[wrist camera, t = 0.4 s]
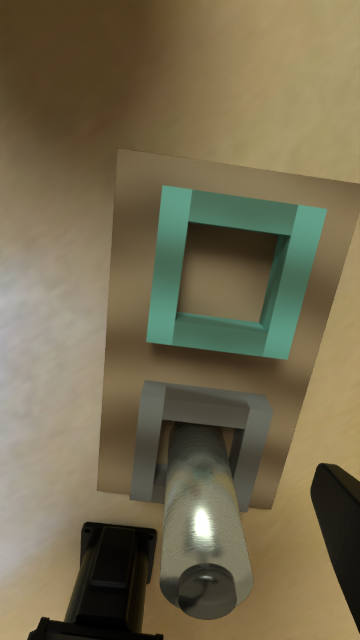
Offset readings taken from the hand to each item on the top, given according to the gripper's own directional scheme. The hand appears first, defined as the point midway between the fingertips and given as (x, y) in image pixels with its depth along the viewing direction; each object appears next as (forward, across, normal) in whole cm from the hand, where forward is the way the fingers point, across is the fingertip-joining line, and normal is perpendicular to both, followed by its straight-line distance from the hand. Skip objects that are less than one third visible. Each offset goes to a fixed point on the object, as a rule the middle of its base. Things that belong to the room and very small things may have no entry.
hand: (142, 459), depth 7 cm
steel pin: (+12, -3, +8) cm, 15 cm away
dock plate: (+12, -3, +2) cm, 13 cm away
